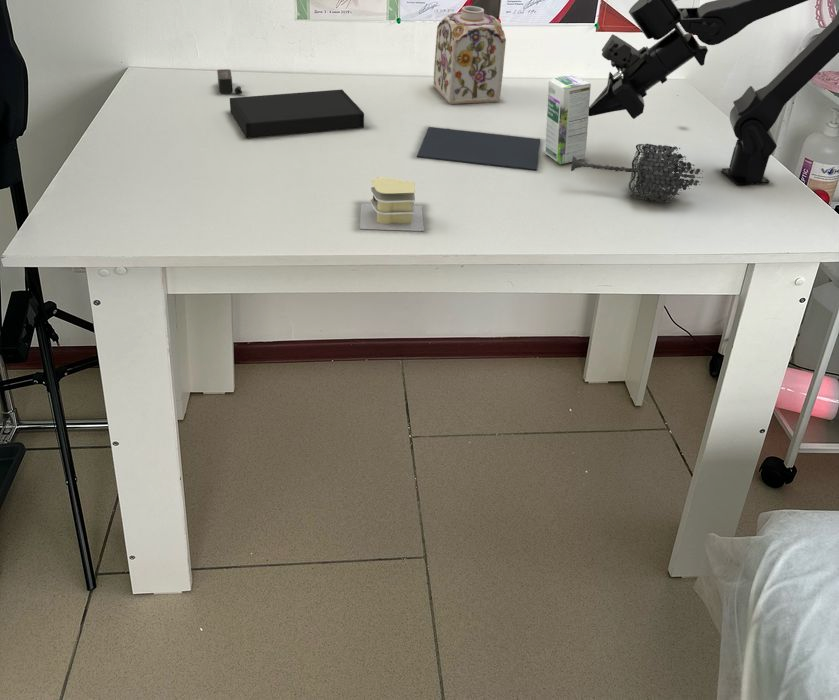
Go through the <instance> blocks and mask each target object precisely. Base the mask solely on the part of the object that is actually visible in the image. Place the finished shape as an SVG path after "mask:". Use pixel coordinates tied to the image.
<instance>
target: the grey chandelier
mask: <svg viewBox="0 0 839 700" xmlns="http://www.w3.org/2000/svg"><path fill="white" fill-rule="evenodd" d="M635 149H636V151H635V153H634V156H633V159H632V161H631V167H625V166H620V167H619V166H613V165H610V164H606V165H602V164H596V163H588V162H582V161H580V160H577V159H576V157H574V156H573V159H572V162H571V167H570V172H573V171H575V170H576V169H579V168H591V169H599V170H600V169H601V170H607V171H615V172H619V171H620V172H625V173H630V177H631V178H630V180H629V183H628V189H629V191H630V192H631V193H630V195H628V197H629V198H634V199H638V200H645V201H646V200H647V201H649V200H650V201H656V202H662V203H663V202H670V201H671V202H673V201H674V197H676V196H680V195H681V193H682V192H681V191H682V190H683V191H687V189H688V190H690V189H691V188H690V187H692V185H693V186H694V187H697V186H698V185H699V186H701V183H703V181H700V180H698V178H699V179H701V178H702V179H704V177H703V176H702V177H701V176H696V175H699V174H700V175H702V173H703V172H704V170H701V169H700V168H699V167H697V168H696V167H695V164H692V162H690V161H687V156H686V155H682V154H681V153H679V152H678V151H679V150H681V147H678V146H675V145H674V146H671V145H665V144H664V145H662V144H658V145H656V144H651V143H645V144H644V143H637V144H636V145H635ZM692 166H693V167H692ZM701 171H702V172H701ZM687 178H688V179H687ZM695 178H697V179H695ZM672 197H673V198H672Z"/></svg>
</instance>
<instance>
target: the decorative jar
mask: <svg viewBox="0 0 839 700" xmlns="http://www.w3.org/2000/svg"><path fill="white" fill-rule="evenodd" d="M460 10H461V11H459V12H452V13H450V14H447V15H446V16H445V17H443V18H442V19H441V21H440V22H439V23H438V24H437V26H436V37H435V38H436V39H435V48H434V49H435V52H434V53H435V54H434V65H433V87H434V88H435V89H436V91H437V92H438V93H439V94H440V95H441V96H442V98H444V99H445V100H446V101H447V102H448V103H449V104H450V105H458V104H460V105H463V104H478V103H494V102H495V103H497V102H500V101H501V92H502V86H503V78H504V77H503V76H504V67H505V66H504V65H505V56H506V55H505V54H506V44H507V39H506V34H505V31H504V29H503V27H502V23H501V21H500V20H499V19H498V18H496V17H495V16H493V15H489V14H487V13H485V9H484V8H483V7H480V6H474V5H465V6H461V9H460Z"/></svg>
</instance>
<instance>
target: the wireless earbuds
mask: <svg viewBox="0 0 839 700" xmlns="http://www.w3.org/2000/svg"><path fill="white" fill-rule="evenodd" d="M216 73H217V86H218V92H219V94H221V95H230V94H233V91H234V93H235V94H236V95H241V94H243V90H242V87H241V86H240V85H237V86H236V87H235V88H234V87H233V77H232V70H231V69H229V68H227V69H225V68H224V69H223V68H221V69H217V70H216ZM233 88H234V89H233Z"/></svg>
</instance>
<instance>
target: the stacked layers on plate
mask: <svg viewBox="0 0 839 700" xmlns="http://www.w3.org/2000/svg"><path fill="white" fill-rule="evenodd" d="M370 182H371V184H372V187H370V192H371V194H372V198H371V199H370V203H360V220H359V229H360V230H382V231H383V230H384V231H412V232H424V231H425V230H424V217H423V216H424V215H423V206H422V205H415V204H414V203H415V201H416V196H415V194H416V183H415V181H409V180H404V179H397V178H391V177H379V176H377V177H376V178H374V179H372V180H370Z"/></svg>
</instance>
